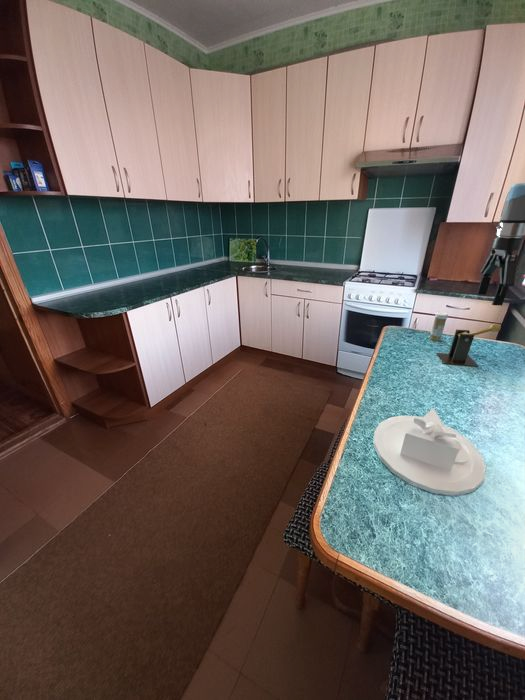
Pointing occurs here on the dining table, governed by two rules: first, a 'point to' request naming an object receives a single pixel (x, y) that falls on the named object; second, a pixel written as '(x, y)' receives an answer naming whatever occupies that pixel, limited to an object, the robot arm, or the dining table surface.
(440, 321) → the sprinkles bottle
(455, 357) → the dark grey stand
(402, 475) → the dish
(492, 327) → the tap lever
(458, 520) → the dining table surface
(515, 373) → the dining table surface
